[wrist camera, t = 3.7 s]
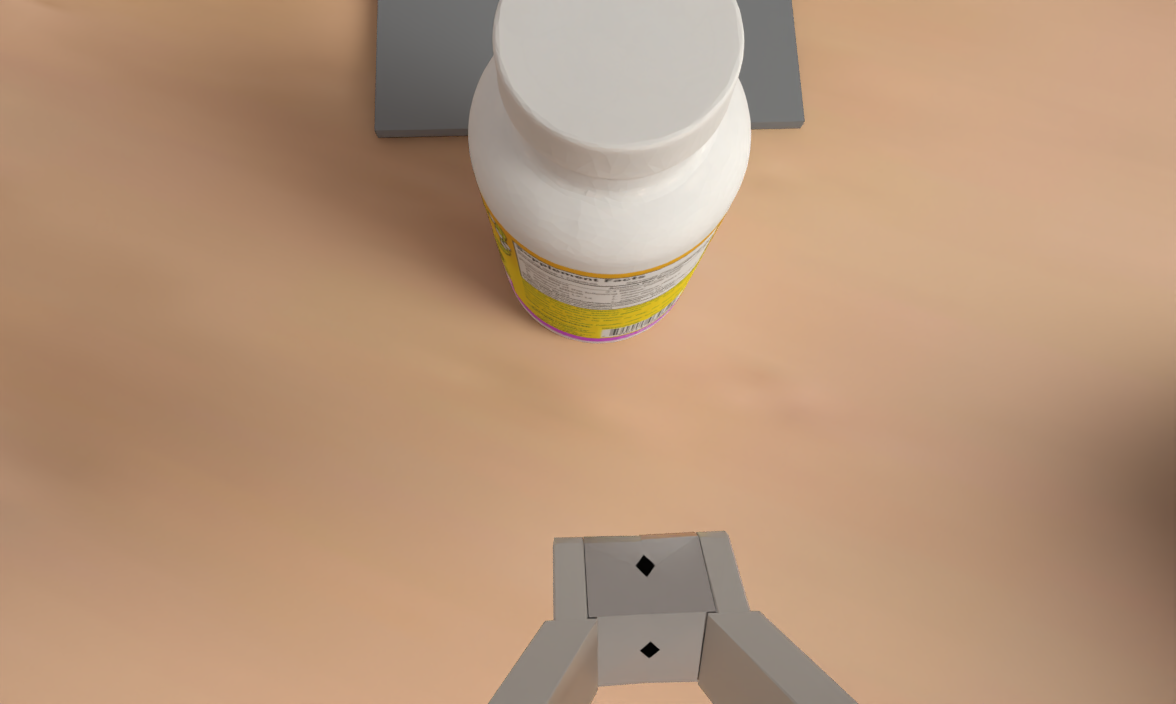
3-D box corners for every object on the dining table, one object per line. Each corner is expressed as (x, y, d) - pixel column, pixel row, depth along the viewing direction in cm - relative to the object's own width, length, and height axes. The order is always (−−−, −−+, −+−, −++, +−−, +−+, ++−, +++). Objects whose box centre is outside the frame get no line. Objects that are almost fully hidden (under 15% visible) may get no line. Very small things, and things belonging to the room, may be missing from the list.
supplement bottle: (542, 151, 26) (516, -169, 13) (710, 208, 26) (843, -63, 13) (477, 313, 25) (380, 127, 12) (652, 375, 24) (739, 252, 12)
